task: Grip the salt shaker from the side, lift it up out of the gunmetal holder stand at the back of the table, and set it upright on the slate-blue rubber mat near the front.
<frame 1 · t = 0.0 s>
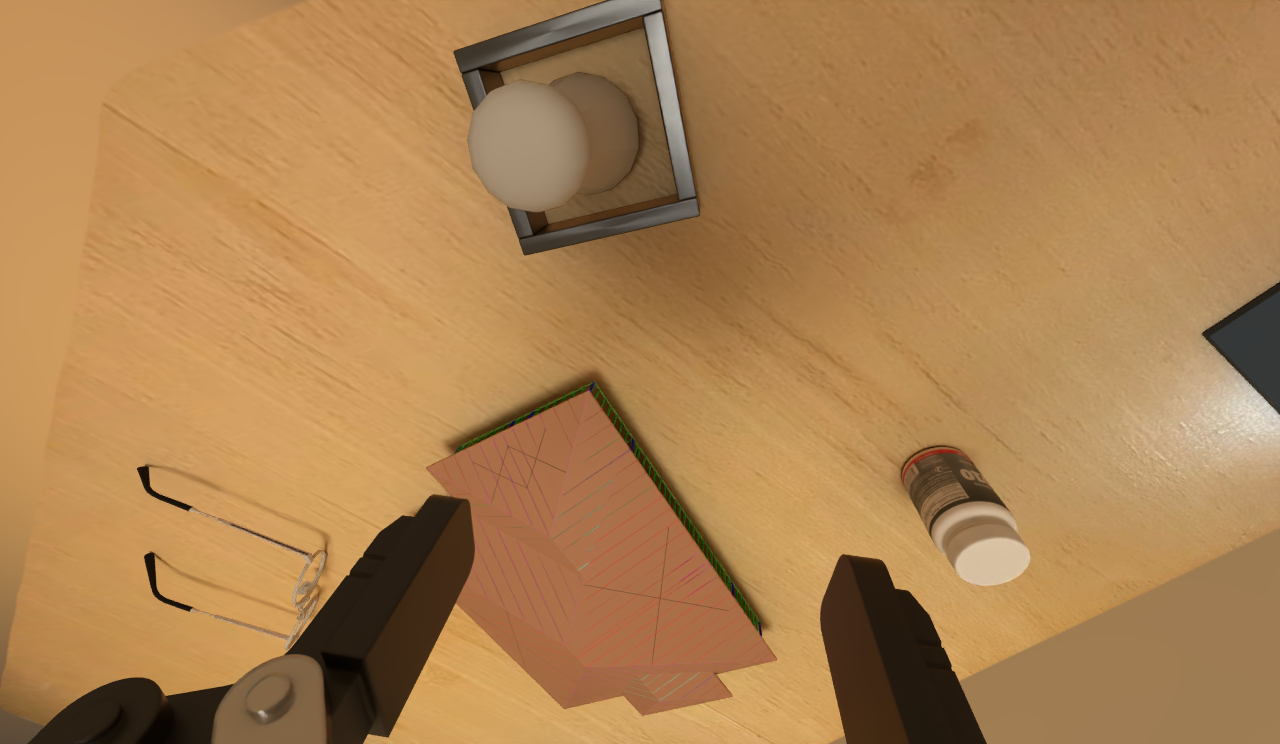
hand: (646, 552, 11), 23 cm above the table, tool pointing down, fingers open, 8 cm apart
eyeglasses: (242, 545, 49), on the table
holder stand: (593, 134, 28), on the table
pill bottle: (933, 469, 36), on the table
salt shaker: (594, 134, 28), resting in holder stand
house: (590, 561, 45), on the table
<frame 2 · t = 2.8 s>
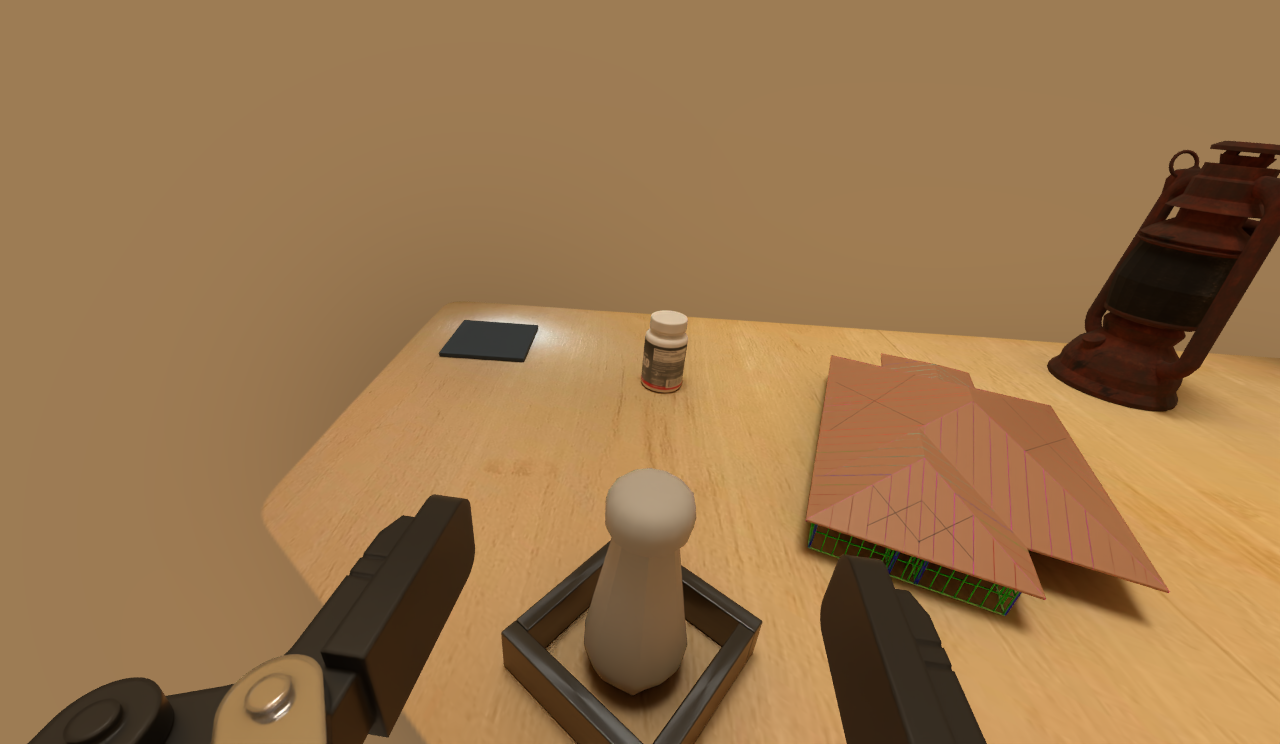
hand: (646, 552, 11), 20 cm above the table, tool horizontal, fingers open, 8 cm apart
lantern: (1107, 384, 68), on the table
mat: (492, 341, 64), on the table
holder stand: (632, 658, 29), on the table
pill bottle: (660, 384, 58), on the table
salt shaker: (632, 660, 29), resting in holder stand
house: (937, 472, 48), on the table
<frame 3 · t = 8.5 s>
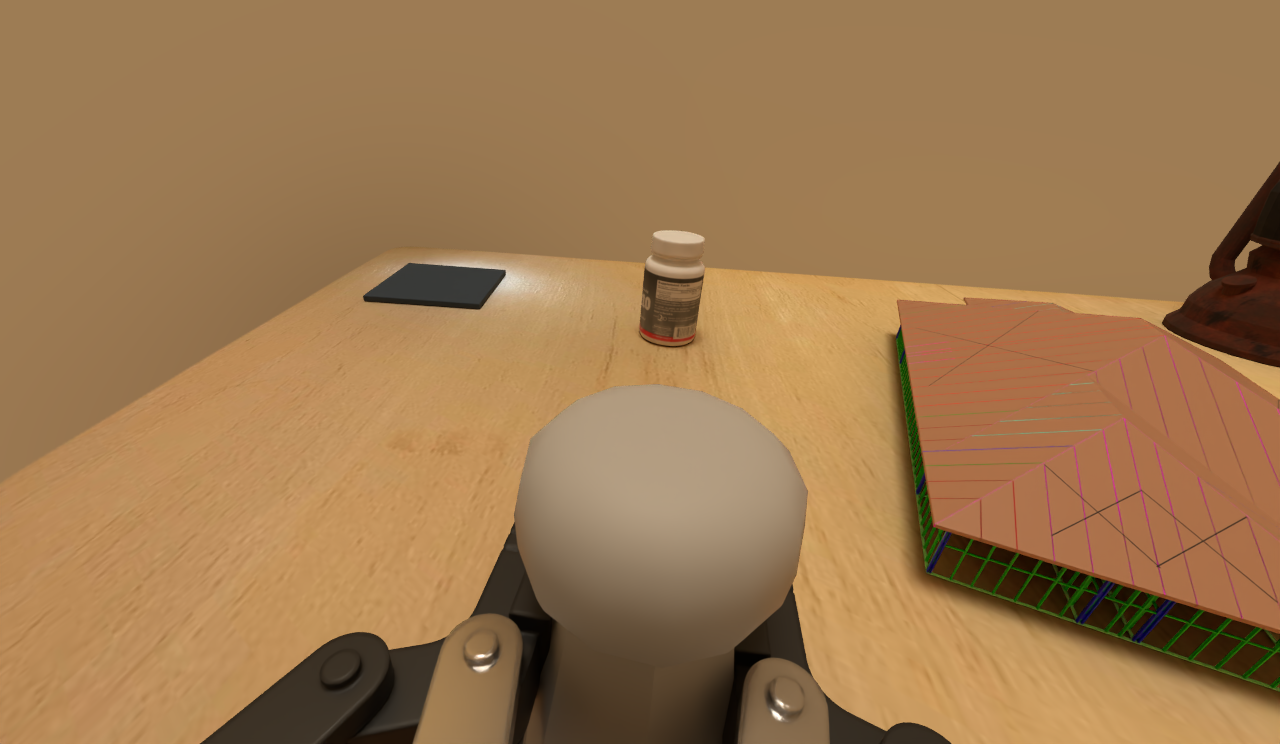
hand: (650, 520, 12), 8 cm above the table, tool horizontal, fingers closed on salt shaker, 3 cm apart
lantern: (1248, 345, 52), on the table
mat: (441, 286, 48), on the table
pill bottle: (666, 337, 42), on the table
house: (1083, 451, 32), on the table
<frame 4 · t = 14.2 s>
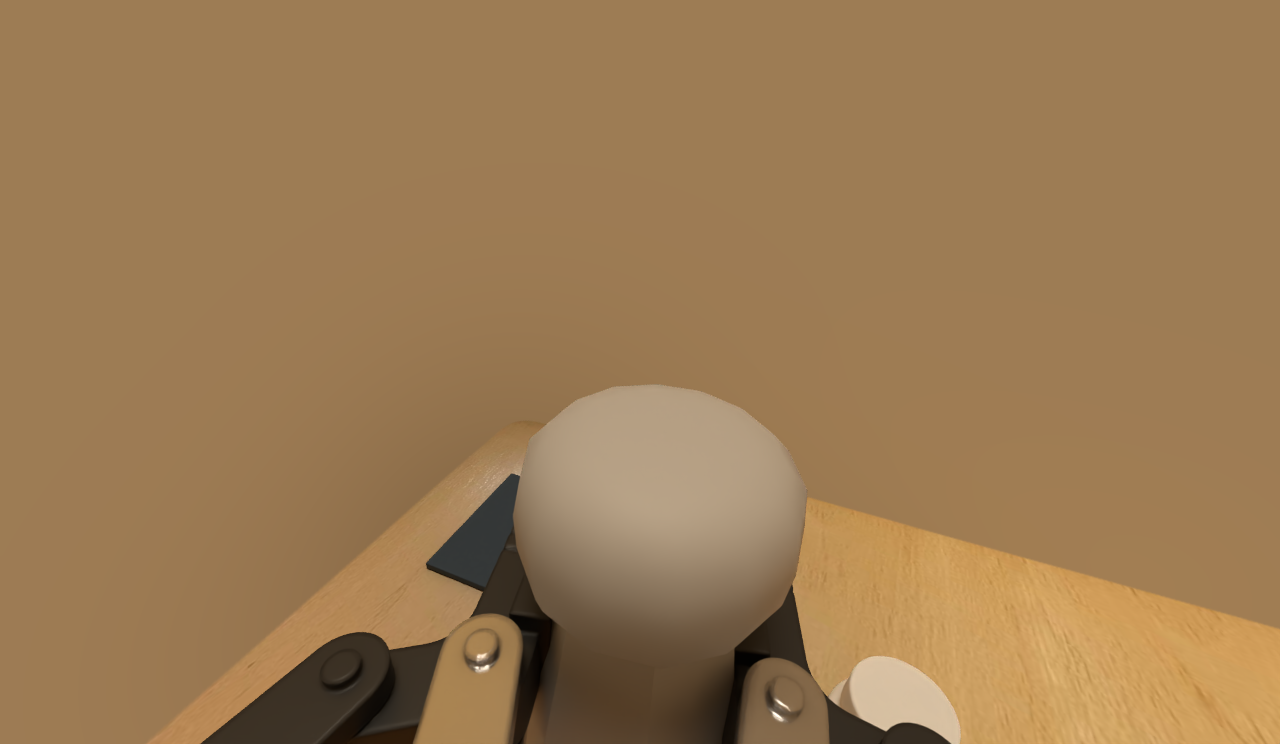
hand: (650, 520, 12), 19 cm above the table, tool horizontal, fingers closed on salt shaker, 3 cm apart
mat: (532, 539, 36), on the table
when the fingers open (9 cm above the table, at t = 20.1 s): salt shaker stays where it is, resting on mat.
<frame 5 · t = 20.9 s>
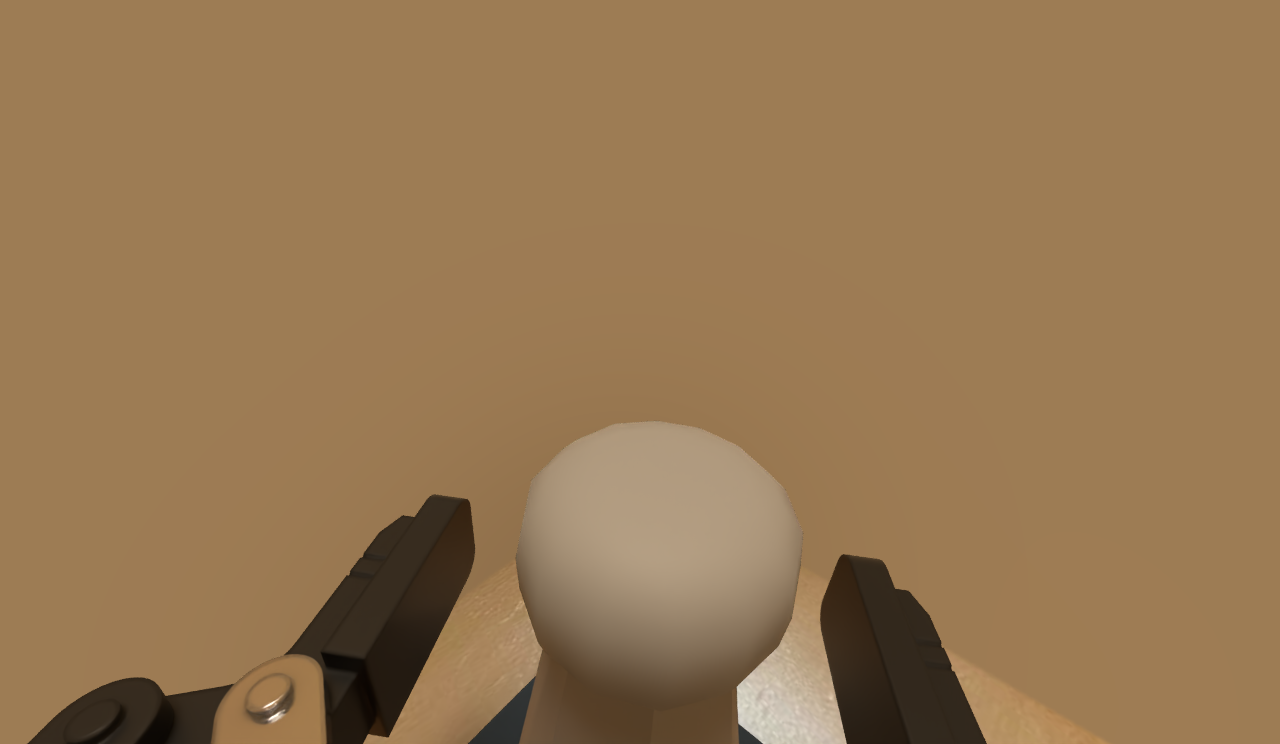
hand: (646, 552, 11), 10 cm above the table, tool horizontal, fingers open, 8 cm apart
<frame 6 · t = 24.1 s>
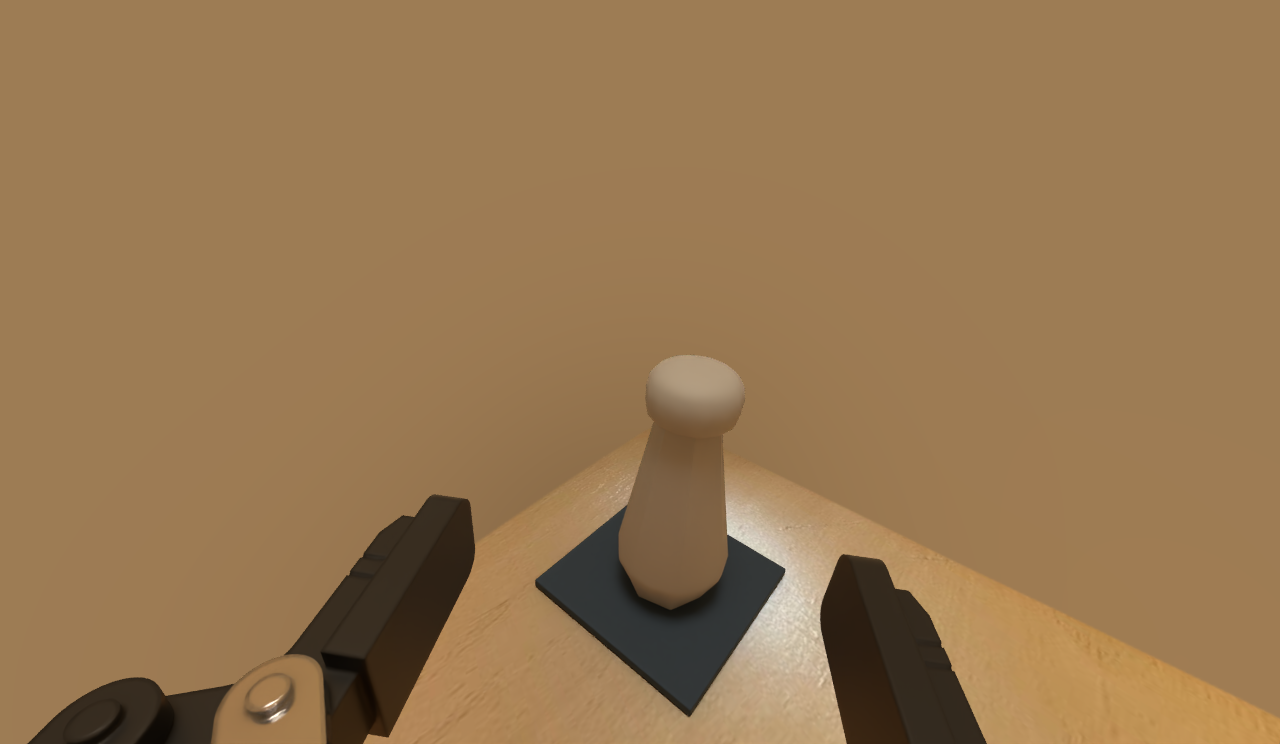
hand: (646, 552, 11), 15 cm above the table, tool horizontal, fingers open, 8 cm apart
mat: (664, 580, 28), on the table
salt shaker: (667, 578, 28), resting on mat
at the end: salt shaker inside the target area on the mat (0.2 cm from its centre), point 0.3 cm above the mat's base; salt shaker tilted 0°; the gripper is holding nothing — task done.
